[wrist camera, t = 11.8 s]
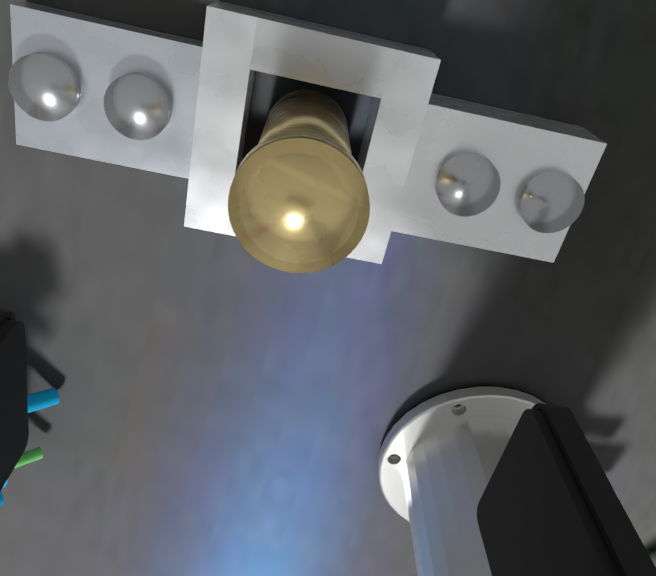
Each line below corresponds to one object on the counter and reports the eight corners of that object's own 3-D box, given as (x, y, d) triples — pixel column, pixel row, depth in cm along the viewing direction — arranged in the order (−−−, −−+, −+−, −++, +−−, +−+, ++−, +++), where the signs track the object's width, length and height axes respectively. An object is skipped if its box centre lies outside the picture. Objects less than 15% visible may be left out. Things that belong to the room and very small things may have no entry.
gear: (-89, 302, 32) (-26, 420, 27) (26, 284, 36) (101, 382, 31) (-78, 447, 37) (-23, 569, 32) (21, 417, 42) (85, 521, 36)
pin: (366, 92, 28) (385, 156, 19) (343, 187, 30) (351, 283, 21) (265, 70, 27) (238, 125, 19) (250, 168, 30) (219, 259, 21)
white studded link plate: (597, 88, 28) (632, 106, 25) (522, 266, 32) (543, 300, 29) (24, -45, 25) (-19, -45, 22) (31, 170, 30) (-4, 196, 26)
